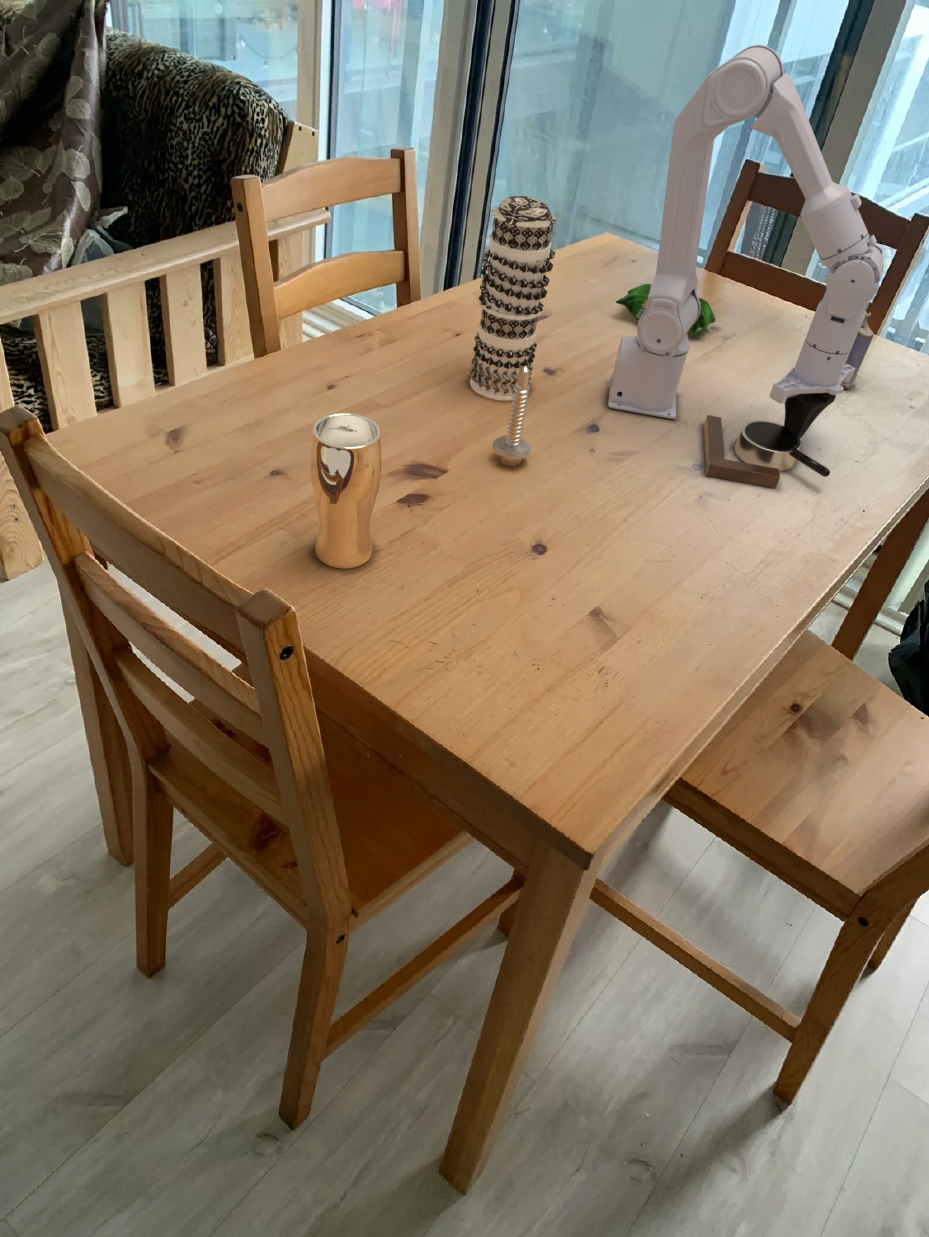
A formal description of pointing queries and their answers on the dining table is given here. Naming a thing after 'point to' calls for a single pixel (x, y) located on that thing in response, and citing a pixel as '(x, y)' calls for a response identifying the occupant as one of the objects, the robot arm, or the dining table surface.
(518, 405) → the screw
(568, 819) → the dining table surface
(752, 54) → the robot arm
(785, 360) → the dining table surface
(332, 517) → the beer glass
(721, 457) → the corner stop
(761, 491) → the dining table surface
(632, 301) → the snack package
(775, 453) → the steel pan
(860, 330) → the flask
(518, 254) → the decorative candle
